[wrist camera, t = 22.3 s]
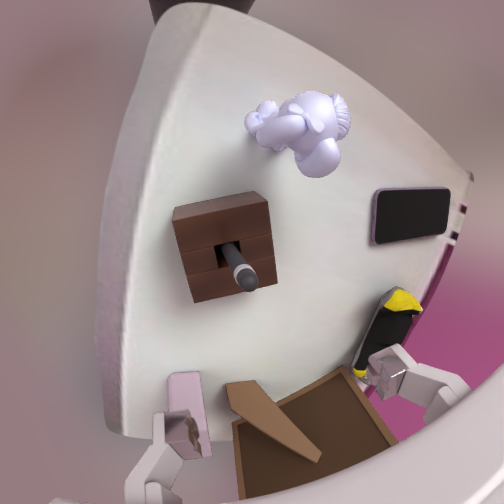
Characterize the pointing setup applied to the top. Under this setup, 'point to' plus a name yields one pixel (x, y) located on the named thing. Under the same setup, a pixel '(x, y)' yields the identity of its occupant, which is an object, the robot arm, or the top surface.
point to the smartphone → (409, 213)
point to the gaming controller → (386, 326)
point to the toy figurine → (303, 129)
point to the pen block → (224, 231)
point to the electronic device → (190, 403)
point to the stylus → (240, 268)
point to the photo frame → (302, 433)
